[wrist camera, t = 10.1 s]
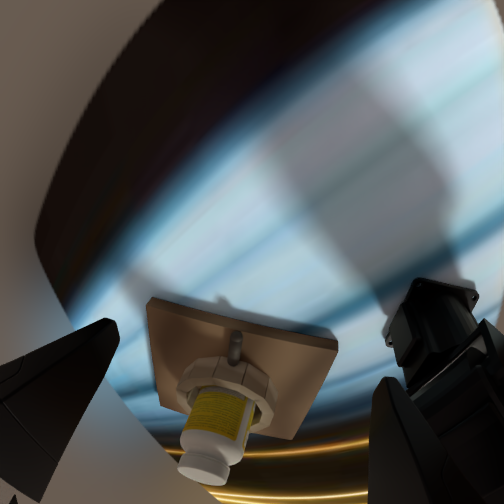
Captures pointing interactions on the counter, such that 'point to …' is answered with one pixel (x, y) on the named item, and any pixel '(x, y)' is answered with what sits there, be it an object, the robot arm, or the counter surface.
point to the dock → (237, 364)
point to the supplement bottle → (215, 434)
